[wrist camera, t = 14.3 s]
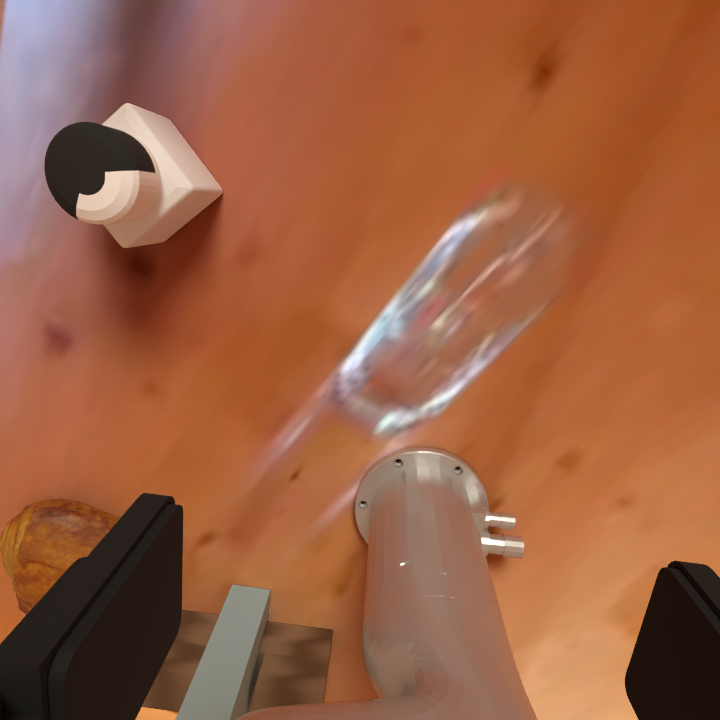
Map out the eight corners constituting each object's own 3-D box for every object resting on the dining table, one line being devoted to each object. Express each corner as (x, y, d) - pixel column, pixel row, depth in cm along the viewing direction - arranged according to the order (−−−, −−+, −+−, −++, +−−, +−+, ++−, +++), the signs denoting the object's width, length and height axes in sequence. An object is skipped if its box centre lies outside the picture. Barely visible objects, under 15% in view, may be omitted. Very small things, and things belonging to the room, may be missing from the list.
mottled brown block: (332, 630, 55) (323, 698, 48) (329, 660, 56) (319, 731, 49) (164, 607, 56) (128, 671, 48) (164, 637, 57) (129, 705, 49)
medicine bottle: (106, 172, 44) (4, 160, 32) (168, 116, 42) (85, 83, 31) (163, 243, 45) (84, 256, 33) (225, 192, 43) (166, 187, 32)
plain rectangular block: (232, 584, 54) (170, 732, 39) (270, 589, 54) (223, 740, 39) (227, 675, 58) (168, 844, 42) (263, 680, 58) (217, 851, 42)
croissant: (57, 458, 54) (-9, 493, 46) (188, 532, 53) (143, 579, 45) (19, 566, 58) (-48, 614, 50) (140, 637, 57) (91, 697, 49)
